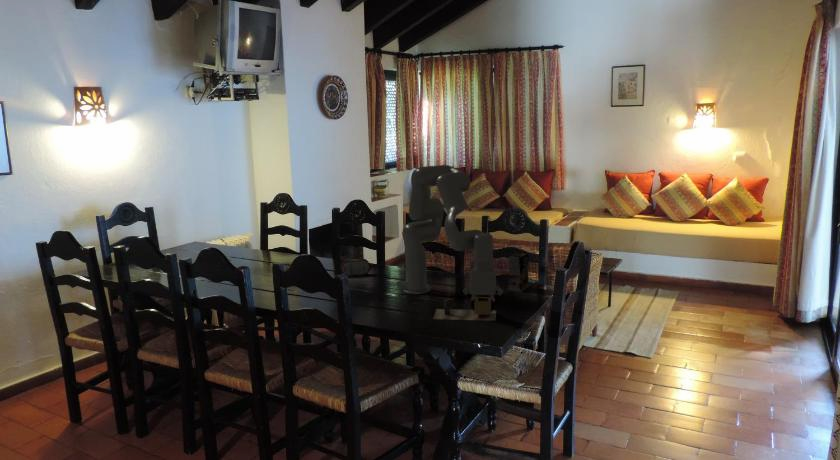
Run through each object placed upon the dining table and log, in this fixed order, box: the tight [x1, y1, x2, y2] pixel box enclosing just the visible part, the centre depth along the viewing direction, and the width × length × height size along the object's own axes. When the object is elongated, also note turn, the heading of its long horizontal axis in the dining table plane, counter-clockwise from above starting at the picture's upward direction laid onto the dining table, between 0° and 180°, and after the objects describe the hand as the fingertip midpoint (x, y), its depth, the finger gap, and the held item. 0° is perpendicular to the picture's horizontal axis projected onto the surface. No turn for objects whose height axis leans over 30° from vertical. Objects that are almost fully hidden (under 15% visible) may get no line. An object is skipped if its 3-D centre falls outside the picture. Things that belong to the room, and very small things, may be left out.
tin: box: [339, 258, 371, 277], centre depth 301 cm, size 15×3×8 cm, turn 106°
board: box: [432, 299, 497, 322], centre depth 236 cm, size 24×12×7 cm, turn 83°
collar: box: [474, 296, 491, 315], centre depth 235 cm, size 6×6×5 cm
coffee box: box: [507, 252, 530, 293], centre depth 272 cm, size 9×6×16 cm
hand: (482, 309), depth 235 cm, fingers closed on collar, 6 cm apart
